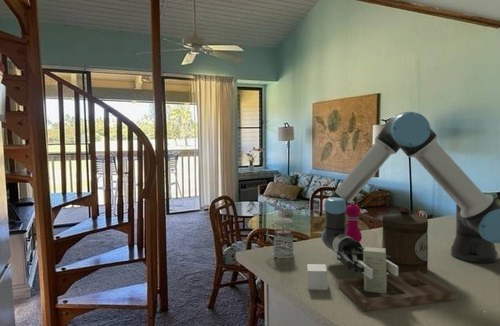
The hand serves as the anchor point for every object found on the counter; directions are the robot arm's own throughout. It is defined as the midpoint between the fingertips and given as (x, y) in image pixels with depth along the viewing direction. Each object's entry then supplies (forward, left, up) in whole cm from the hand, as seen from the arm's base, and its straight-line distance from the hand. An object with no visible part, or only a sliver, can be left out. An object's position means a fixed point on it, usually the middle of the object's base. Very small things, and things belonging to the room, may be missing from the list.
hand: (384, 272), depth 99 cm
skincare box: (0, -5, -7) cm, 9 cm away
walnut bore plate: (-6, -5, -9) cm, 12 cm away
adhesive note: (+14, -16, -9) cm, 23 cm away
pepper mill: (-15, -49, -9) cm, 52 cm away
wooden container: (-21, -22, -9) cm, 32 cm away
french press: (+17, -48, -9) cm, 52 cm away
